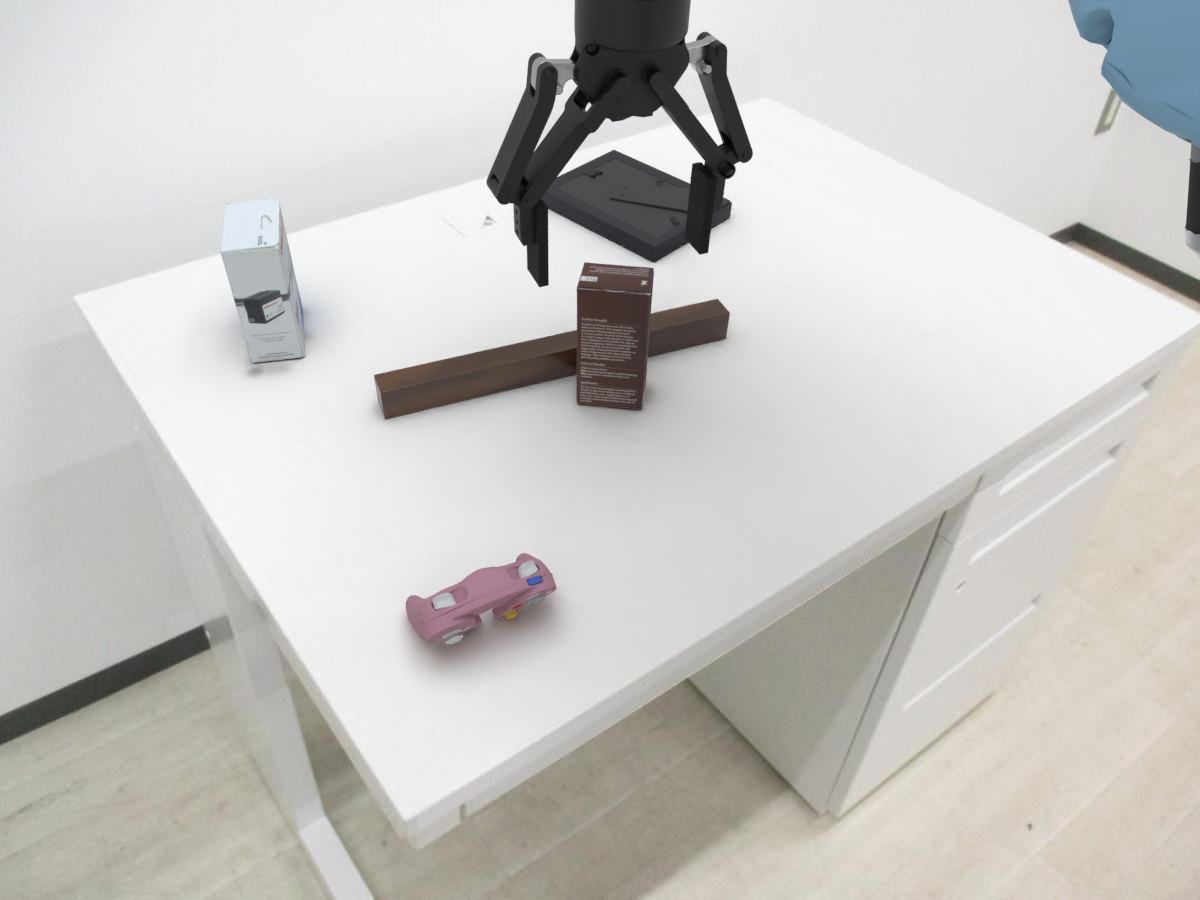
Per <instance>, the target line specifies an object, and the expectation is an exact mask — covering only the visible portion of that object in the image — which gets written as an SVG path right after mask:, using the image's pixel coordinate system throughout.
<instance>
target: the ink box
mask: <svg viewBox="0 0 1200 900" xmlns="http://www.w3.org/2000/svg"><path fill="white" fill-rule="evenodd" d="M223 204H224V205H223V206H224V208H223V217H222V226H221V227H222V228H221V235H220V237H221V238H220V247H219V248H220V250H219V253H220V256H221V261H222V262H223V267H224V270H225V273H226V277H227V280H228V283H229V287H230V290H231V295H232V297H233V301H234V305H235V308H236V311H237V315H238V318H239V323H240V326H241V330H242V333H243V336H244V340H245V344H246V346H247V350H248V355H249V358H250V363H265V362H272V361H273V362H274V361H282V360H291V359H292V360H293V359H301V358H303V357H305V354H306V353H305V336H304V333H305V332H304V315H303V314H304V313H303V303H302V299H301V296H300V290H299V286H298V282H297V281H298V280H297V276H296V273H295V268H294V263H293V259H292V253H291V250H290V244H289V239H288V236H287V231H286V226H285V222H284V216H283V214H282V213H283V212H282V207H281V201H280V200H279V198H269V199H261V200H259V199H258V200H249V201H238V202H228V203H223Z"/></svg>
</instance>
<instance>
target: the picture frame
mask: <svg viewBox="0 0 1200 900" xmlns="http://www.w3.org/2000/svg"><path fill="white" fill-rule="evenodd" d="M689 191H690V182H688V181H685V180H683V179H680V178H679V177H677V176H674V175H672V174H669V173H667V172H665V171H663V170H660V169H658V168H656V167H654V166H652V165H650V164H647V163H645V162H643V161H640V160H638V159H636V158H634V157H631V156H629V155H627V154H626V153H623V152H620V151H618V150H616V149H612V150H610V151H608V152H605V153H604V154H602V155H600V156H598V157H595V158H593V159H592V160H590V161H587V162H585V163H583V164H581V165H579V166H576V167H575V168H573V169H571V170H568V171H567V172H565V173H561V174H559V175H558V176H557V178H556V179H555V180H554V182H553V183H552V184H551V186H550V187H549V188H548V190H547V191H546V192H545V194H544V195H543V196H542V198H541V199H542V200H543V202H544V203H545V204H546V206H547V207H548V210H551V211H552V212H554V213H556V214H558V215H561V217H564V218H566V219H568V220H570V221H572V222H574V223H576V224H578V225H580V226H582V227H584V228H585V229H587V230H589V231H591V232H593V233H595V234H597V235H599V236H601V237H603V238H605V239H607V240H609V241H610V242H613V243H615V244H617V245H619V246H621V247H622V248H624V249H626V250H629V251H631V252H632V253H634V254H636V255H638V256H640V257H643V258H644V259H646V260H648V261H650V262H652V263H656V262H658V261H659V260H661V259H663V258H664V257H666V256H667V255H669V254H671V253H673V252H675V251H676V250H678V249H680V248H682V247H683V246H685V245H686V244H689V242H688V241H687V240H686V239H685V229H686V220H687V210H688V200H689ZM732 207H733V201H731V200H730V199H728V198H726V197H724V196H723V203H722V205H721V207H720V209H717V210H713V217H712V225H711V229H713V228H714V227H717V226H718V225H720V224H721V223H723V222H725V221H726V220H728V219H730V218H731V214H732Z"/></svg>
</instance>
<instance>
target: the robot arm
mask: <svg viewBox="0 0 1200 900" xmlns="http://www.w3.org/2000/svg"><path fill="white" fill-rule="evenodd" d="M691 2H692V0H574V14H573V15H574V18H573V19H574V21H573V22H574V23H573V24H574V25H573V26H574V46H573V50H572V53H571V55H570V56H569V58H547V57H546V56H544V54H543V53H541V52H533V54H531V55H530V56H529V58H528V60H527V71H526V72H527V73H526V74H527V75H526V81H525V82H526V83H525V88H524V90H523V94H522V95H521V98H520V100H519V103H518V105H517V107H516V110H515V112H514V114H513V117H512V119H511V121H510V124H509V127H508V129H507V131H506V133H505V136H504V138H503V140H502V143H501V145H500V147H499V150H498V152H497V154H496V157H495V159H494V162H493V164H492V166H491V168H490V170H489V174H488V176H487V178H486V186H487V187H488V189H489V191H490V192H491V193H492V195H493V197H494V198H495V199H496V201H497V202H498V204H500V205H503V206H506V205H508V204H512V205H513V206H512V207H513V230H514V233H515V235H516V237H517V239H518V240H519V242H520V243H521V245H522V247H526V269H527V271H528V272H529V274H530V275H531V277H532V279H533V280H534V281H535V283H536V284H537V286H538V288H542V287H547V286H549V283H550V282H549V281H550V280H549V277H550V275H549V274H550V273H549V272H550V271H549V208H548V207H547V206H546V204H545V203H544V202H543V200H542V199H541V198H542V196H543V195H544V194H545V192H546V191H547V190H548V188H549V187H550V186H551V184H552V183H553V182H554V180H555V179H556V178H557V177H558V176H560V175H561V173H562V171H563V170H564V168H565V166H567V164H568V163H569V162H570V161H571V159H572V158H573V157H574V154H576V153H577V151H578V149H579V148H580V147H581V145H582V144H583V143H584V141H586V139H587V137H588V136H589V135H590V134H594V133H596V132H597V131H598V129H599V128H600V127H601V126H602V124H603V123H604V122H605V120H607V119H608V120H610V121H611V123H615V122H621V121H624V120H626V119H629V118H631V117H637V118H649V117H653V116H654V112H656V111H658V110H659V109H660V108H662V109H663V111H664V112H665V113H666V115H667V116H668V117H669V118H670V119H671V121H672V122H673V123H674V124H675V126H676V127H677V128H678V130H679V131H680V132H681V133H682V134H683V136H684V137H685V138H686V139H687V141H688V142H689V143H690V144H691V146H692V148H693V149H694V150H695V151H696V152H697V153H698V155H699V156H700V157H701V158H702V159H703V161H704V163H703V162H702V161H699V162H694V163H691V164H692V165H691V173H690V182H689V183H690V191H689V200H688V210H687V220H686V229H685V239H686V240H687V241H688V244H689V245H690V246H691V247H692V248H693V250H695V251H696V252H697V253H698V255H704V254H705V255H706V254H709V249H710V241H711V232H712V228H711V225H712V217H713V210H717V209H720V207H721V205H722V203H723V197H724V195H725V189H726V188H725V186H726V180H729V179H730V180H731V178H733V177H734V176H735V173H736V171H737V168H736V164H738V163H742V164H747V163H748V162H749V161H751V159H752V158H753V155H754V151H753V148H752V145H751V141H750V139H749V136H748V133H747V130H746V127H745V124H744V122H743V118H742V115H741V113H740V110H739V107H738V104H737V100H736V97H735V95H734V92H733V89H732V86H731V83H730V80H729V77H728V47H727V46H726V44H725V43H723V42H722V41H720V40H719V39H717V38H716V37H715V36H713V34H711V33H710V32H708V31H702V32H700V33H699V34H698V35H697V37H696V39H695V40H694V41H689V42H687V43H686V36H687V35H688V32H689V25H690V15H691V14H690V13H691ZM1068 4H1069V7H1070V12H1071V15H1072V18H1073V21H1074V24H1075V26H1076V29H1077V31H1078V32H1077V33H1078V35H1079V36H1080V38H1082V39H1084V40H1085V41H1086V42H1088V43H1091V44H1095V45H1099V46H1102V47H1104V49H1105V50H1106V53H1105V55H1104V57H1103V61H1102V64H1101V67H1100V75H1101V76H1102V78H1103V79H1104V80H1105V81H1106V82H1107V83H1108V84H1109V85H1110V87H1111V88H1112V89H1113V91H1114V93H1115V94H1116V95H1117V97H1118V98H1119V99H1120V101H1121V102H1122V103H1123V104H1125V105H1126V106H1127V107H1129V108H1130V109H1131V110H1133V111H1134V112H1135V113H1137V114H1138V115H1139V116H1141V117H1143V118H1144V119H1145V120H1147V121H1148V122H1150V123H1152V124H1154V125H1155V126H1156V127H1159V128H1160V129H1162V130H1163V131H1165V132H1167V133H1170V134H1172V135H1174V136H1176V137H1177V138H1178V139H1181V140H1183V141H1184V142H1187V143H1189V144H1190V155H1189V157H1190V158H1189V172H1188V173H1189V174H1188V189H1187V203H1186V204H1187V205H1186V206H1187V207H1186V218H1185V226H1184V242H1185V245H1186V247H1187V248H1188V249H1190V250H1191V251H1192V252H1193V253H1194V254H1195V255H1196V256H1197V257H1199V258H1200V0H1068ZM689 64H690V67H691V69H692V70H694V72H696V73H697V76H698V79H699V82H700V84H701V87H702V90H703V93H704V95H705V98H706V101H707V103H708V107H709V110H710V112H711V114H712V117H713V120H714V123H715V126H716V128H717V131H718V134H719V136H720V139H721V142H722V143H721V144H719V145H718V144H717V143H716V141H715V140H714V139H713V137H712V135H710V133H709V132H708V131H707V130H706V128H705V126H703V124H702V123H701V122H700V121H699V119H698V118H697V117H696V115H695V114H694V113H693V112H692V109H690V106H689V104H687V102H686V101H685V99H684V98H683V97H682V95H681V94H680V93H679V91H678V90H677V89H676V88H675V87H676V85H677V84H678V82H679V81H680V79H681V78H682V76H683V75H684V73H686V71H687V69H688V67H689ZM570 80H572V81H573V82H574V84H575V85H576V87H575V88H574V90H573V92H572V93H571V94H570V95H569V97H568V98H567V100H566V101H565V104H564V110H563V112H562V113H561V114H560V115H559V116H558V119H557V120H556V121H555V123H554V124H553V125H552V127H551V128H550V129H549V131H548V132H547V133H546V135H545V136H544V137H543V139H542V140H541V141H540V139H541V137H542V134H543V133H544V130H545V128H546V125H547V124H548V121H549V119H550V116H551V114H552V111H553V109H554V106H555V103H556V97H557V96H559V95H562V94H563V92H564V87H565V85H566V83H567V82H568V81H570ZM588 104H590V106H589V108H588V109H587V110H586V107H587V106H588ZM539 141H540V143H539ZM538 143H539V145H538Z"/></svg>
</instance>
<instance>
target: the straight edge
mask: <svg viewBox="0 0 1200 900" xmlns="http://www.w3.org/2000/svg"><path fill="white" fill-rule="evenodd" d="M730 316H731V312H730V311H729V310H728V309H727V307H726V306H725V305H724V304H723V303H722V302H721V300H719V299H718V298H714V299H710V300H705V301H701V302H696V303H692V304H687V305H683V306H678V307H674V308H668V309H665V310H661V311H656V312H651V320H650V334H649V346H648V358H649V357H654V356H658V355H661V354H667V353H671V352H676V351H679V350H683V349H687V348H692V347H696V346H701V345H704V344H708V343H713V342H717V341H721V340H725V339H726V340H727V336H728V335H727V334H728V328H729V323H730ZM573 375H577V329H574V330H570V331H565V332H561V333H557V334H551V335H548V336H543V337H539V338H538V337H537V338H534V339H530V340H525V341H520V342H516V343H512V344H507V345H502V346H497V347H494V348H488V349H484V350H480V351H475V352H471V353H466V354H462V355H457V356H452V357H448V358H443V359H439V360H434V361H430V362H426V363H421V364H417V365H412V366H408V367H403V368H397V369H394V370H389V371H385V372H380V373H376V374H373V379H374V385H375V386H374V387H375V391H376V396H377V402H378V405H379V407H380V410H381V413H382V415H383V418H384V420H388V419H392V418H397V417H401V416H404V415H409V414H413V413H416V412H422V411H425V410H430V409H434V408H438V407H442V406H447V405H450V404H456V403H459V402H464V401H468V400H472V399H477V398H481V397H485V396H489V395H493V394H498V393H502V392H507V391H510V390H515V389H518V388H522V387H528V386H531V385H535V384H539V383H543V382H548V381H552V380H556V379H561V378H566V377H569V376H573Z"/></svg>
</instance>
